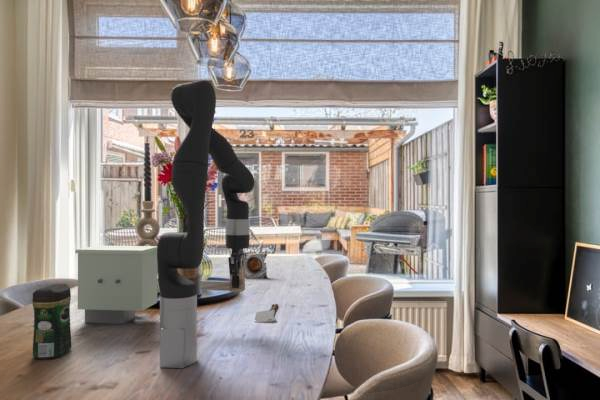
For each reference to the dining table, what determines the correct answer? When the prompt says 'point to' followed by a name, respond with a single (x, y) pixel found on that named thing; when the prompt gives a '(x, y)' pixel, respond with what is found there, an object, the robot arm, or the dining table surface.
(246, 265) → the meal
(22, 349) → the dining table surface
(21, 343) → the dining table surface
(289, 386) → the dining table surface
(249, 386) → the dining table surface
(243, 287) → the wooden mallet
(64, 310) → the coffee jar
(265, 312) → the kitchen cleaver
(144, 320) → the steel puck
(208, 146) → the robot arm
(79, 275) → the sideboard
